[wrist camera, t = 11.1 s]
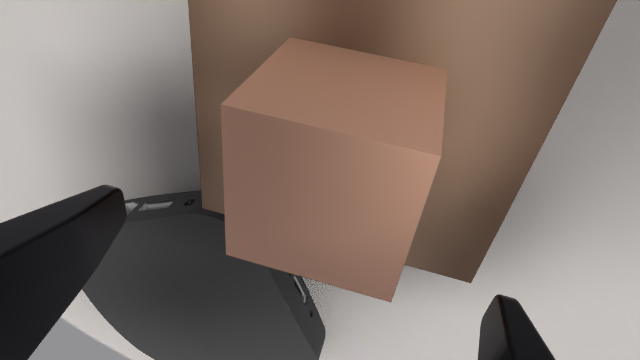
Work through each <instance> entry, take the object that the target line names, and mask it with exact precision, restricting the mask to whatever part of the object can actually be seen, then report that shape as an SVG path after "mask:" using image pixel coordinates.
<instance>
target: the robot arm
mask: <svg viewBox="0 0 640 360" xmlns="http://www.w3.org/2000/svg"><path fill="white" fill-rule="evenodd" d="M126 218H127V210H126V206H125V201H124V196H123V192H122V191H121V189H119V188H116V187H113V186H109V185H102V186H99V187H96V188H93V189H91V190H88V191H85V192H83V193H80V194H77V195H74V196H72V197H69V198H66V199H64V200H61V201H58V202H56V203H53V204H50V205H48V206H45V207H42V208H40V209H37V210H34V211H32V212H29V213H26V214H24V215H21V216H18V217H16V218H13V219H10V220H8V221H5V222H2V223H0V360H28V358H29V357H30V356H31V355H32V353H33V352H34V351H35V349H36V348H37V347H38V345H39V344H40V343H41V341H42V340H43V339H44V338H45V336H46V335H47V334H48V332H49V331H50V330H51V328H52V327H53V326H54V325H55V323H56V322H57V321H58V319H59V318H60V317H61V315H62V314H63V313H64V312H65V310H66V309H67V308H68V306H69V305H70V304H71V302H72V301H73V300H74V299H75V297H76V296H77V295H78V293H79V292H80V291H81V289H82V288H83V287H84V285H85V284H86V283H87V282H88V280H89V279H90V277H91V276H92V275H93V273H94V272H95V270H96V269H97V267H98V266H99V264H100V263H101V261H102V259H103V258H104V256H105V254H106V253H107V251H108V250H109V248H110V246H111V245H112V243H113V241H114V240H115V238H116V236H117V235H118V233H119V232H120V230H121V228H122V227H123V225H124V223H125V221H126ZM478 360H555V358H554V357H553V355H552V353H551V352H550V350H549V349H548V347H547V346H546V344H545V342H544V341H543V339H542V338H541V336H540V335H539V333H538V331H537V330H536V328H535V327H534V325H533V323H532V322H531V320H530V319H529V317H528V316H527V314H526V312H525V311H524V309H523V308H522V306H521V305H520V303H519V302H518V301H517V300H516V299H514V298H511V297H507V296H503V295H496V296H495V297H494V299H493V300H492V302H491V304H490V305H489V307H488V309H487V311H486V312H485V314H484V316H483V318H482V321H481V327H480V339H479V352H478Z"/></svg>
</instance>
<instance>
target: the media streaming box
mask: <svg viewBox="0 0 640 360" xmlns="http://www.w3.org/2000/svg"><path fill="white" fill-rule="evenodd" d="M162 200H163V201H162ZM154 201H155V202H154ZM125 206H126V210H127V218H126V221H125V223H124V225H123V227H122V228H121V230H120V232H119V233H118V235H117V236H116V238H115V240H114V241H113V243H112V245H111V246H110V248H109V250H108V251H107V253H106V254H105V256H104V258H103V259H102V261H101V263H100V264H99V266H98V267H97V269H96V270H95V272H94V273H93V275H92V276H91V277H90V279H89V280H88V282H87V283H86V284H85V285H84V287H83V288H82V290H83V291H84V293H85V294H86V295H87V297H88V298H89V299H90V301H91V302H92V303H93V305H94V306H95V307H96V308H97V310H98V311H99V312H100V313H101V314H102V316H103V317H104V318H105V319H106V320H107V321H108V322H109V323H110V324H111V325H112V326H113V327H114V328H115V329H116V330H117V331H118V332H119V333H120V334H121V335H122V336H123V337H124V338H125V339H126V340H128V341H129V342H130V343H131V344H132V345H134V346H135V347H136V348H137V349H139V350H140V351H142V352H143V353H145V354H146V355H148V356H150V357H151V358H153V359H155V360H319V357H320V353H321V350H322V346H323V343H324V340H325V328H324V326H323V323H322V321H321V318H320V316H319V314H318V311H317V309H316V307H315V305H314V302H313V300H312V298H311V296H310V294H309V292H308V290H307V288H306V286H305V284H304V281H303V280H302V278H301V276H298V275H295V274H291V273H288V272H284V271H281V270H277V269H274V268H270V267H267V266H263V265H260V264H256V263H253V262H250V261H246V260H243V259H239V258H236V257H232V256H229V255H226V240H225V214H222V213H218V212H215V211H211V210H207V209H204V208H202V194H201V191H193V192H183V193H174V194H166V195H158V196H151V197H144V198H138V199H132V200H127V201H125Z"/></svg>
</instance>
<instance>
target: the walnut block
mask: <svg viewBox="0 0 640 360" xmlns="http://www.w3.org/2000/svg"><path fill="white" fill-rule="evenodd" d="M616 1H617V0H188V5H189V20H190V34H191V49H192V63H193V78H194V92H195V107H196V121H197V136H198V150H199V165H200V180H201V194H202V208H204V209H207V210H211V211H215V212H218V213H222V214H225V212H224V183H223V154H222V125H221V104H222V103H223V102H224V101H225V100H226V99H227V98H228V97H229V96H230V95H231V94H232V93H233V92H234V91H235V90H236V89H237V88H238V87H239V86H240V85H241V84H242V83H243V82H244V81H245V80H246V79H247V78H249V77H250V76H251V75H252V74H253V73H254V72H255V71H256V70H257V69H258V68H259V67H260V66H261V65H262V64H263V63H264V62H265V61H266V60H267V59H268V58H269V57H270V56H271V55H272V54H273V53H274V52H275V51H276V50H277V49H278V48H279V47H280V46H281V45H283V44H284V43H285V42H286V41H287V40H288V39H289V38H290V37H292V38H297V39H302V40H306V41H311V42H316V43H321V44H326V45H331V46H335V47H340V48H345V49H350V50H355V51H360V52H365V53H369V54H374V55H379V56H384V57H389V58H394V59H398V60H403V61H408V62H413V63H418V64H423V65H428V66H432V67H437V68H442V69H447V84H446V98H445V112H444V126H443V140H442V154H441V159H440V162H439V165H438V167H437V170H436V173H435V176H434V179H433V182H432V185H431V188H430V191H429V194H428V197H427V199H426V202H425V205H424V208H423V211H422V214H421V217H420V220H419V223H418V226H417V229H416V231H415V234H414V237H413V240H412V243H411V246H410V249H409V252H408V255H407V258H406V261H405V263H404V265H408V266H411V267H415V268H419V269H422V270H426V271H429V272H433V273H436V274H440V275H444V276H447V277H451V278H454V279H458V280H462V281H465V282H469V283H471V282H472V280H473V278H474V276H475V274H476V272H477V270H478V268H479V267H480V265H481V263H482V261H483V259H484V257H485V255H486V253H487V251H488V249H489V247H490V245H491V243H492V241H493V239H494V238H495V236H496V234H497V232H498V230H499V228H500V226H501V224H502V222H503V220H504V218H505V216H506V214H507V212H508V210H509V208H510V207H511V205H512V203H513V201H514V199H515V197H516V195H517V193H518V191H519V189H520V187H521V185H522V183H523V181H524V179H525V178H526V176H527V174H528V172H529V170H530V168H531V166H532V164H533V162H534V160H535V158H536V156H537V154H538V152H539V150H540V149H541V147H542V145H543V143H544V141H545V139H546V137H547V135H548V133H549V131H550V129H551V127H552V125H553V123H554V121H555V119H556V118H557V116H558V114H559V112H560V110H561V108H562V106H563V104H564V102H565V100H566V98H567V96H568V94H569V92H570V90H571V89H572V87H573V85H574V83H575V81H576V79H577V77H578V75H579V73H580V71H581V69H582V67H583V65H584V63H585V61H586V60H587V58H588V56H589V54H590V52H591V50H592V48H593V46H594V44H595V42H596V40H597V38H598V36H599V34H600V32H601V30H602V29H603V27H604V25H605V23H606V21H607V19H608V17H609V15H610V13H611V11H612V9H613V7H614V5H615V3H616Z"/></svg>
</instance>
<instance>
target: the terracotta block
mask: <svg viewBox="0 0 640 360" xmlns="http://www.w3.org/2000/svg"><path fill="white" fill-rule="evenodd" d="M446 84H447V69H442V68H437V67H432V66H428V65H423V64H418V63H413V62H408V61H403V60H398V59H394V58H389V57H384V56H379V55H374V54H369V53H365V52H360V51H355V50H350V49H345V48H340V47H335V46H331V45H326V44H321V43H316V42H311V41H306V40H302V39H297V38H292V37H290V38H289V39H288V40H287V41H286V42H285V43H284V44H283V45H281V46H280V47H279V48H278V49H277V50H276V51H275V52H274V53H273V54H272V55H271V56H270V57H269V58H268V59H267V60H266V61H265V62H264V63H263V64H262V65H261V66H260V67H259V68H258V69H257V70H256V71H255V72H254V73H253V74H252V75H251V76H250V77H249V78H247V79H246V80H245V81H244V82H243V83H242V84H241V85H240V86H239V87H238V88H237V89H236V90H235V91H234V92H233V93H232V94H231V95H230V96H229V97H228V98H227V99H226V100H225V101H224V102H223V103H222V104H221V125H222V154H223V183H224V212H225V240H226V255H229V256H232V257H236V258H239V259H243V260H246V261H250V262H253V263H256V264H260V265H263V266H267V267H270V268H274V269H277V270H281V271H284V272H288V273H291V274H295V275H298V276H301V277H305V278H308V279H312V280H315V281H319V282H322V283H326V284H329V285H333V286H336V287H340V288H343V289H346V290H350V291H353V292H357V293H360V294H364V295H367V296H371V297H374V298H378V299H381V300H385V301H388V302H391V301H392V298H393V295H394V293H395V290H396V287H397V284H398V281H399V278H400V275H401V272H402V269H403V266H404V263H405V261H406V258H407V255H408V252H409V249H410V246H411V243H412V240H413V237H414V234H415V231H416V229H417V226H418V223H419V220H420V217H421V214H422V211H423V208H424V205H425V202H426V199H427V197H428V194H429V191H430V188H431V185H432V182H433V179H434V176H435V173H436V170H437V167H438V165H439V162H440V159H441V154H442V140H443V126H444V112H445V98H446Z"/></svg>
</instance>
